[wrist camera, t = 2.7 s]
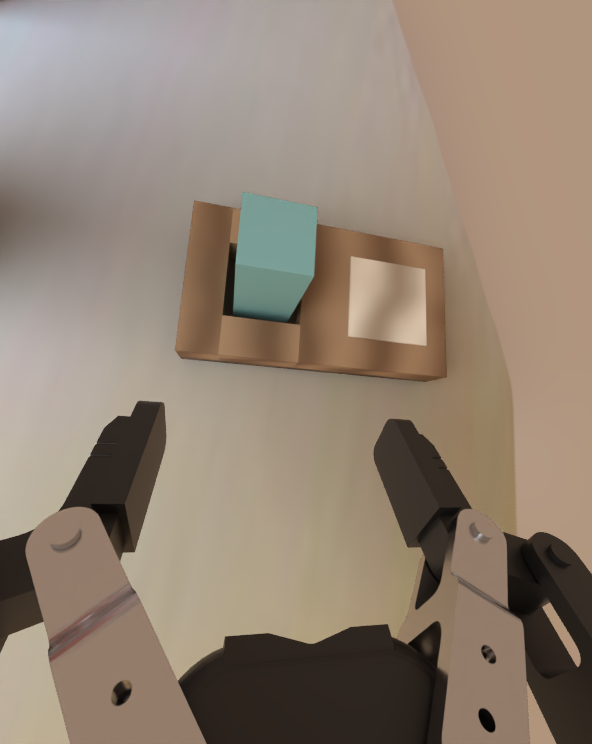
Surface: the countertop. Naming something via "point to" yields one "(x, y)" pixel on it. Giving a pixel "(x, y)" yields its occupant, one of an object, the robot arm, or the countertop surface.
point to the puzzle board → (319, 305)
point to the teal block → (273, 257)
